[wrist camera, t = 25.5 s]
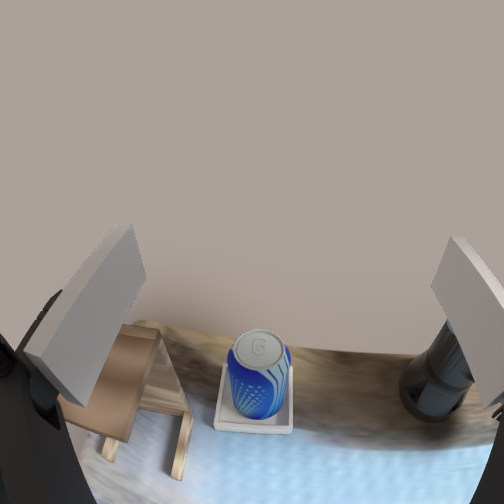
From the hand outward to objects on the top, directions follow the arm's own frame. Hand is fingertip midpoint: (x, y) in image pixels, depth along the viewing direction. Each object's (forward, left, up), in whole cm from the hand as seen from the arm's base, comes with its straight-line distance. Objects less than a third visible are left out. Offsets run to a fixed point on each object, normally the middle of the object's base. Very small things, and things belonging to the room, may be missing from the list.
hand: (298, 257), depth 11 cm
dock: (+18, +6, -40) cm, 44 cm away
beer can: (+8, -10, -39) cm, 41 cm away
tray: (+8, -10, -40) cm, 42 cm away
